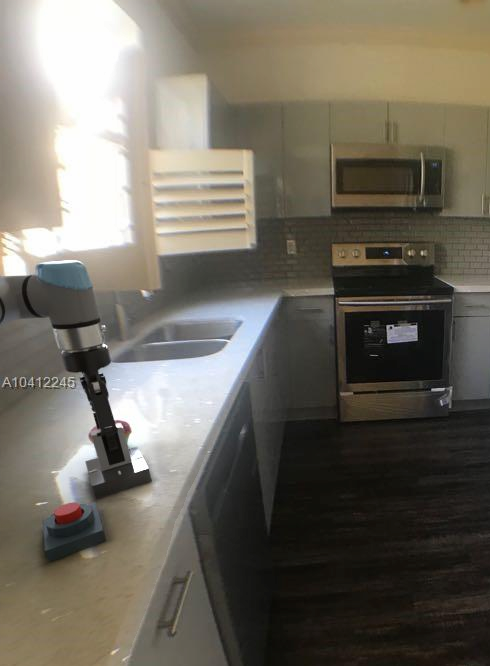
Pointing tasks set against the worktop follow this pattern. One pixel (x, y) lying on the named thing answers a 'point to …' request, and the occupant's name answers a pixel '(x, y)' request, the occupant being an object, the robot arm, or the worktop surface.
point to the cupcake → (125, 425)
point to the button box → (73, 533)
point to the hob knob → (101, 450)
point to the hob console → (118, 475)
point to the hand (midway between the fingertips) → (112, 450)
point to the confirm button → (68, 513)
